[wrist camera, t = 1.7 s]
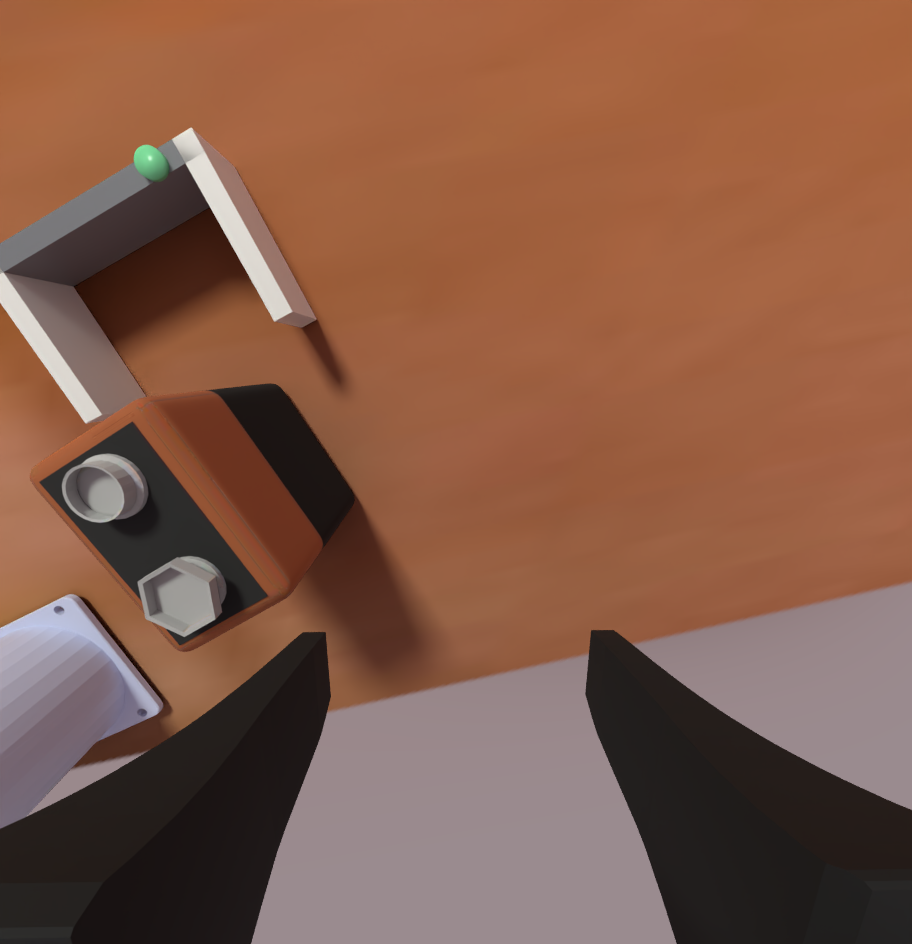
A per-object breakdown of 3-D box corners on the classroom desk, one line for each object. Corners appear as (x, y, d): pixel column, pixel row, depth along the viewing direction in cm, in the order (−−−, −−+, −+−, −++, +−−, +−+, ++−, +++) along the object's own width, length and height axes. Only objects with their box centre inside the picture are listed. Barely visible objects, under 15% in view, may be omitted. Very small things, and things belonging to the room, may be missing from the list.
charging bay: (139, 414, 20) (79, 424, 17) (45, 275, 18) (-41, 256, 15) (316, 319, 19) (289, 310, 16) (233, 164, 18) (184, 119, 14)
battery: (288, 541, 22) (157, 685, 12) (204, 426, 20) (-25, 484, 10) (360, 499, 21) (284, 615, 11) (279, 378, 20) (112, 393, 10)
